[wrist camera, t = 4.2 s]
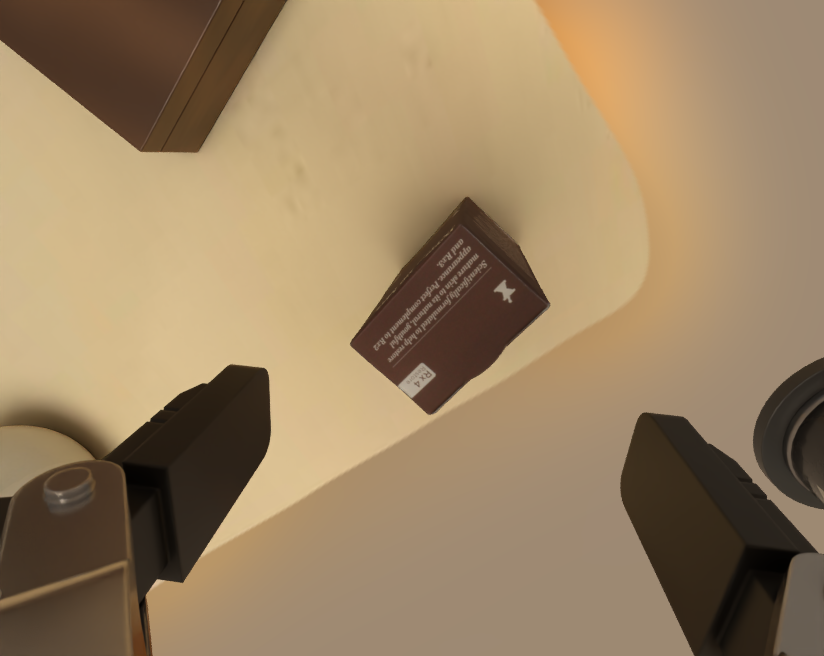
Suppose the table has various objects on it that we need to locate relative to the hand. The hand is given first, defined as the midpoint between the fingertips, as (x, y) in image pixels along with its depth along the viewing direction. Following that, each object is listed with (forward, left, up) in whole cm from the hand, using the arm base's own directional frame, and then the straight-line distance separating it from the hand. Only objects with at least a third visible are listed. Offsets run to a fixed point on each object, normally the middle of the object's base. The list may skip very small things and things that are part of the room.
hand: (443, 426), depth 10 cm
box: (0, 0, -18) cm, 18 cm away
